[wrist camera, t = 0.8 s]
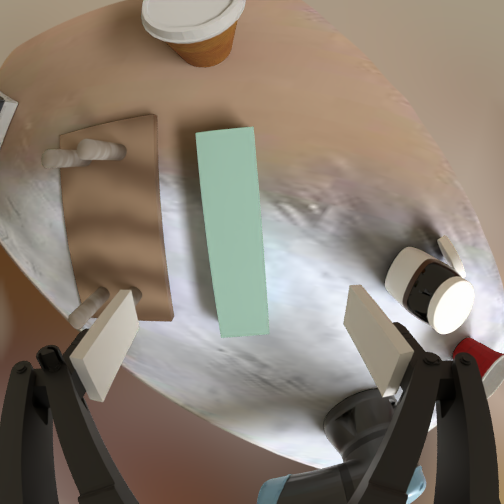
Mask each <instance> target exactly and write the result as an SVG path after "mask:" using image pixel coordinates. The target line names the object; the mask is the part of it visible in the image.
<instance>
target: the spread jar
mask: <svg viewBox="0 0 504 504" xmlns="http://www.w3.org/2000/svg"><path fill="white" fill-rule="evenodd" d="M437 242H438V245H439V248H440V250H441V252H442V254H443V257H444V259H445V261H446V263H447V264H445V263H443V262H442V261H440V260H438V259H436V258H434V257H433V256H431V255H429V254H427V253H425V252H424V251H422V250H419V249H417V248H414V247H406V248H404V249H402V250H401V251H400V252H399V253H398V255H397V256H396V257H395V259H394V260H393V262H392V263H391V265H390V267H389V270H388V272H387V275H386V279H385V287H386V290H387V291H388V292H389V293H390V295H391V296H392V297H394V298H395V299H396V300H397V301H398V302H399V303H400V304H401V305H402V306H403V307H404V308H405V309H406V310H407V311H408V312H410V313H411V314H412V315H414V316H415V317H416V318H417V319H419V320H420V321H422V322H424V323H426V324H428V325H431V327H432V328H433V329H435V330H436V331H437V332H438V333H440V334H448V333H451V332H453V331H454V330H456V329H457V328H458V327H459V326H461V325H462V323H463V322H464V321H465V320H466V318H467V317H468V315H469V313H470V311H471V308H472V306H473V302H474V289H473V286H472V284H471V283H470V282H468V281H467V280H465V279H463V278H464V277H466V274H465V270H464V267H463V264H462V262H461V260H460V257H459V255H458V253H457V251H456V250H455V248H454V246H453V244H452V243H451V241H450V240H449V239H448V237H447V236H445V235H444V236H443V237H441V238H440V239H438V240H437Z"/></svg>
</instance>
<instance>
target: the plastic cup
mask: <svg viewBox="0 0 504 504" xmlns="http://www.w3.org/2000/svg"><path fill="white" fill-rule="evenodd" d="M460 352H465V353H469V354H471V355H472V356H473V357H474V358H475V359H476V361H477V364H478V368H479V371H480V374H481V378H482V381H483V385H484V389H485V393H486V397H487V399H488V398H489V397H490V396H491V395H492V394H493V393H494V392H495V391H496V389H497V388H498V387H499V386H500V384H501V383H502V381H503V380H504V354H502V353H499V352H496V351H494V350H492V349H490V348H489V347H487V346H485V345H483V344H481V343H479V342H477V341H476V340H474V339H472V338H465V339H464V340H462V341H461V342H460V343H459V344H458V346H457V347H456V348H455V351H454V353H453V359H454V358H455V356H456V354H458V353H460Z"/></svg>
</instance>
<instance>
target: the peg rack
mask: <svg viewBox="0 0 504 504" xmlns="http://www.w3.org/2000/svg"><path fill="white" fill-rule="evenodd" d="M41 162H42V165H43V167H44V168H60V173H61V188H62V200H63V210H64V218H65V226H66V232H67V239H68V245H69V251H70V256H71V261H72V266H73V271H74V275H75V280H76V284H77V288H78V292H79V296H80V300H81V305H80V306H79V307H78V308H77V309H76V310H75V311H73V312H72V313H71V314H70V315H69V322H70V324H71V326H72V327H74V328H75V329H81V328H82V327H83V326H84V324H85V323H86V322H87V321H88V320H89V319H90V318H98V317H99V316H100V315H101V313H102V312H103V311H104V309H105V308H106V307H107V306H108V304H109V303H110V302H111V301H112V299H113V298H114V297H115V296H116V294H117V293H118V292H119V291H120V290H131V291H132V296H133V300H134V305H135V310H136V314H137V318H138V320H141V321H172V320H173V317H174V312H173V306H172V299H171V293H170V286H169V279H168V271H167V264H166V255H165V247H164V237H163V227H162V216H161V203H160V189H159V170H158V140H157V116H156V115H154V114H151V115H145V116H139V117H134V118H128V119H123V120H118V121H114V122H109V123H105V124H100V125H96V126H92V127H88V128H84V129H81V130H77V131H73V132H70V133H67V134H63V135H60V149H47V150H45V151H44V153H43V155H42V158H41Z"/></svg>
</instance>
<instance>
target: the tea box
mask: <svg viewBox="0 0 504 504" xmlns="http://www.w3.org/2000/svg"><path fill="white" fill-rule="evenodd" d="M17 105H18V102H17V101H15V100H13V99H11V98H10V97H8V96H7V95H5V94H4V93H2V92H1V91H0V148H1V145H2V142H3V139H4V137H5V134H6V131H7V129H8V126H9V124H10V121H11V119H12V117H13V114H14V112H15V110H16V107H17Z"/></svg>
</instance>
